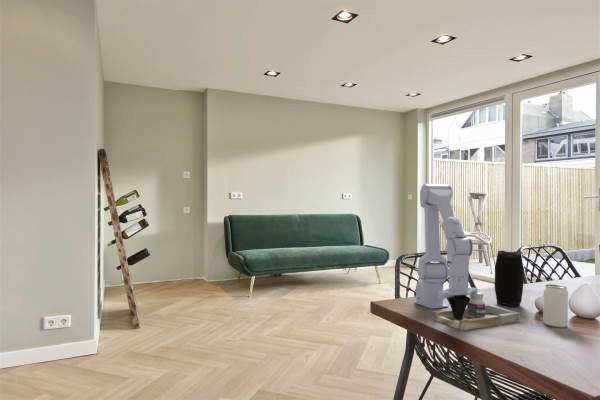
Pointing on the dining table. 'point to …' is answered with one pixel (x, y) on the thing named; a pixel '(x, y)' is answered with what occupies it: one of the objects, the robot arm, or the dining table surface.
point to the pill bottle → (476, 306)
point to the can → (555, 306)
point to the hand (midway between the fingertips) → (457, 319)
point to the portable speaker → (509, 278)
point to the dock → (502, 314)
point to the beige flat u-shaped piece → (468, 324)
